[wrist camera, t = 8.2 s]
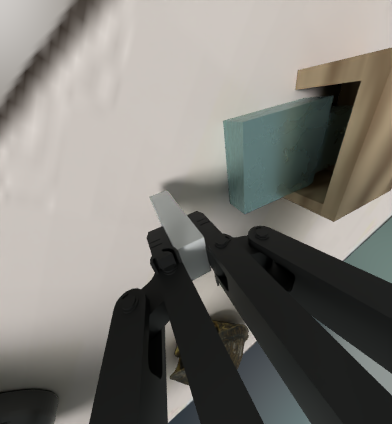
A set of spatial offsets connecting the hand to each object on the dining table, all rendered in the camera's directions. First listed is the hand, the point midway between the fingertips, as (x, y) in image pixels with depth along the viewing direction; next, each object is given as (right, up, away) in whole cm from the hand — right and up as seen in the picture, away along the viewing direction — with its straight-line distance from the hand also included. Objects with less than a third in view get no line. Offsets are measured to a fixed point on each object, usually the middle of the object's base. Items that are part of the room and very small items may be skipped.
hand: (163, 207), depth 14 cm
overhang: (+18, +9, +7) cm, 22 cm away
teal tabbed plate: (+12, +7, +6) cm, 15 cm away
